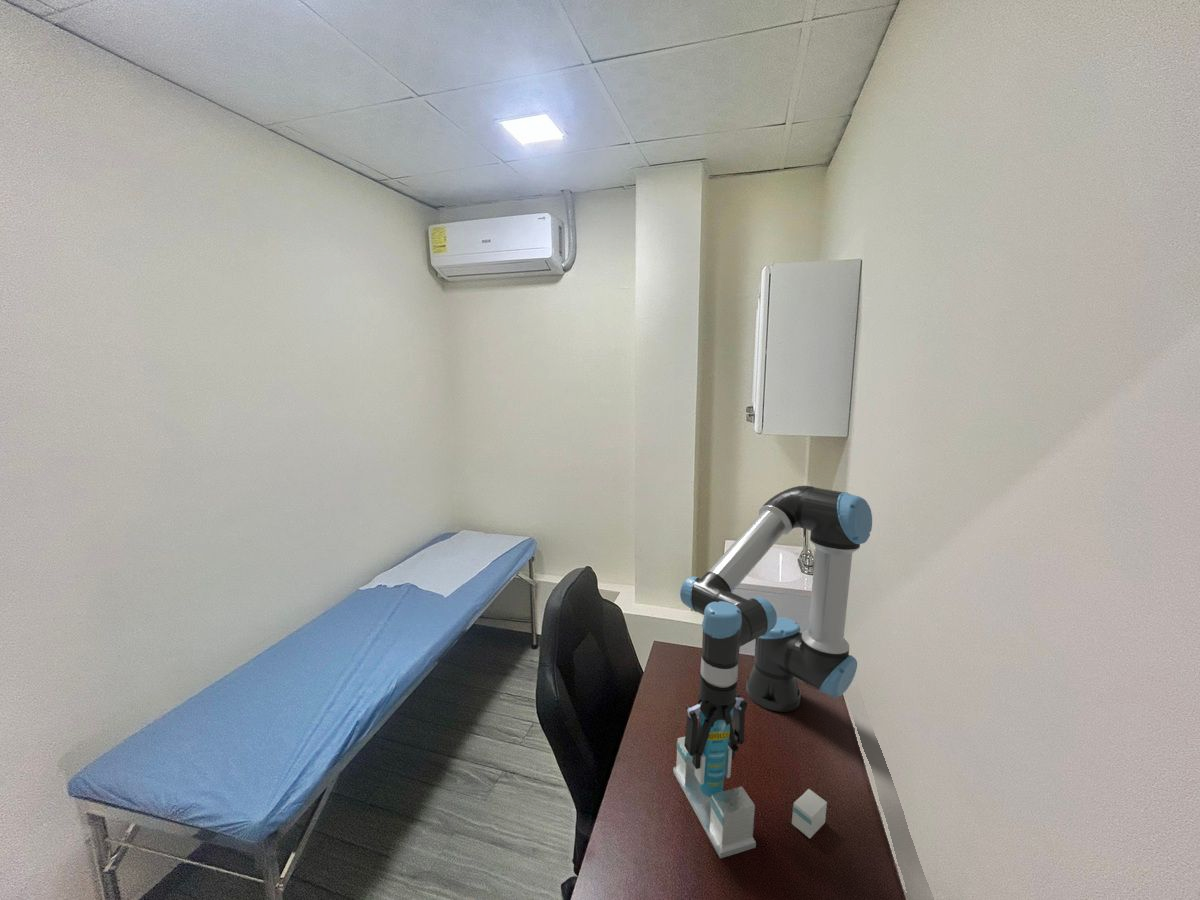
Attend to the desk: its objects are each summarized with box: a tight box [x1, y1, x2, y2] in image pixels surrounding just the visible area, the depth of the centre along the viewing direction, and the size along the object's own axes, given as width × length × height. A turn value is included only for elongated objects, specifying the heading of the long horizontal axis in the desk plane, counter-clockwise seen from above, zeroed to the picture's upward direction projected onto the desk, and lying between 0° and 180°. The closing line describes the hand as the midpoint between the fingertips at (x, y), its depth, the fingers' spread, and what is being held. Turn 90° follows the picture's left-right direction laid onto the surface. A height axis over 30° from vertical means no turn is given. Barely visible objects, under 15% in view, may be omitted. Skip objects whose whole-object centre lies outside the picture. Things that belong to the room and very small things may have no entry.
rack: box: [672, 736, 757, 859], centre depth 100 cm, size 8×21×9 cm, turn 17°
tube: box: [699, 707, 734, 798], centre depth 99 cm, size 7×5×19 cm, turn 103°
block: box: [791, 788, 828, 839], centre depth 97 cm, size 6×4×5 cm, turn 127°
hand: (712, 775), depth 99 cm, fingers closed on tube, 6 cm apart
